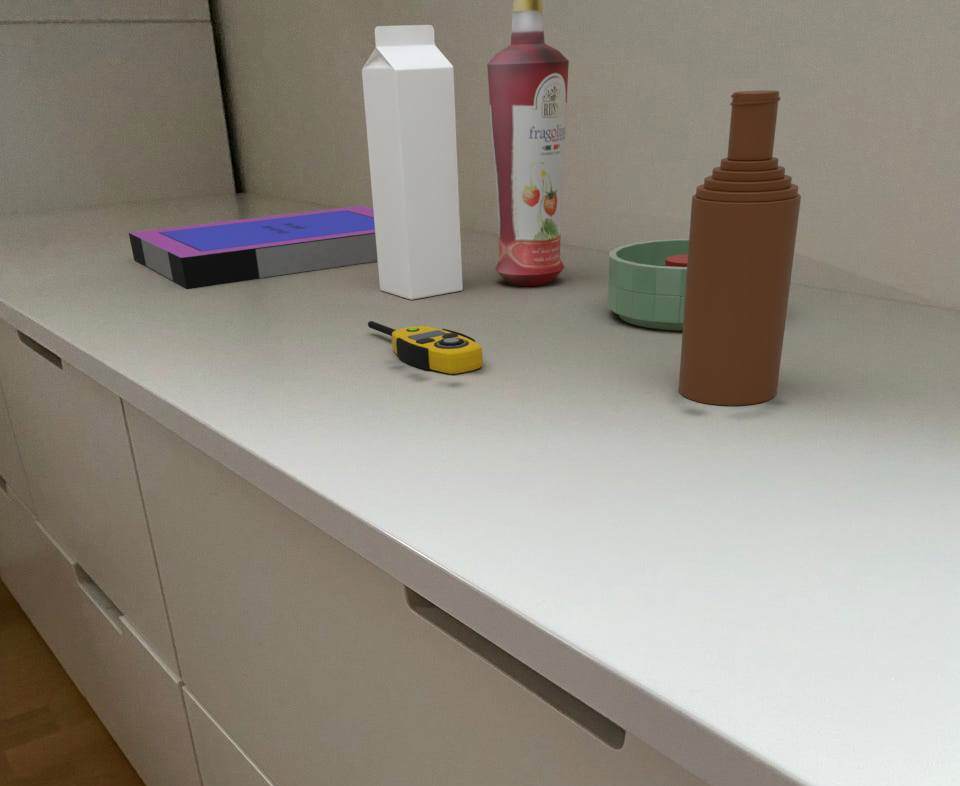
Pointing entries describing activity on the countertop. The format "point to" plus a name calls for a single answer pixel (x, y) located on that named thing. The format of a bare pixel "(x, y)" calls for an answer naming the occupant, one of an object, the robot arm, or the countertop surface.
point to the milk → (413, 162)
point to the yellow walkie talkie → (434, 348)
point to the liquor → (528, 148)
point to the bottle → (740, 264)
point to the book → (258, 246)
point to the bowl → (648, 284)
